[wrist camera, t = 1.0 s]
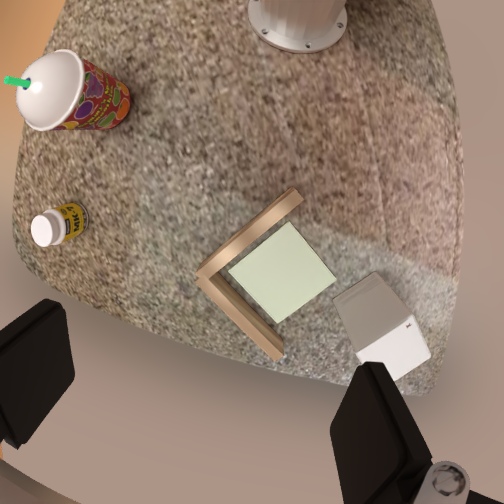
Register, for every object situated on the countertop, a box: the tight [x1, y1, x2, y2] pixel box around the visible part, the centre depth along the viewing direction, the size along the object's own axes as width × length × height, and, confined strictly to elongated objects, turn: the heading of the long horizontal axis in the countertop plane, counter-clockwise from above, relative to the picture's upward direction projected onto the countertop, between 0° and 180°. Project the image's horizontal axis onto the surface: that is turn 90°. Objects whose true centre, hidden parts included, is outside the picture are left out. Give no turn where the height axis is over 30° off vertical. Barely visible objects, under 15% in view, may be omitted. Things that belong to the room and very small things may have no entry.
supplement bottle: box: [31, 202, 88, 247], centre depth 34 cm, size 5×5×8 cm
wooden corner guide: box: [195, 187, 304, 361], centre depth 37 cm, size 16×16×4 cm
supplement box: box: [333, 271, 431, 381], centre depth 34 cm, size 7×7×13 cm
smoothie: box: [4, 49, 130, 131], centre depth 24 cm, size 8×8×20 cm
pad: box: [228, 221, 337, 324], centre depth 39 cm, size 10×10×1 cm
